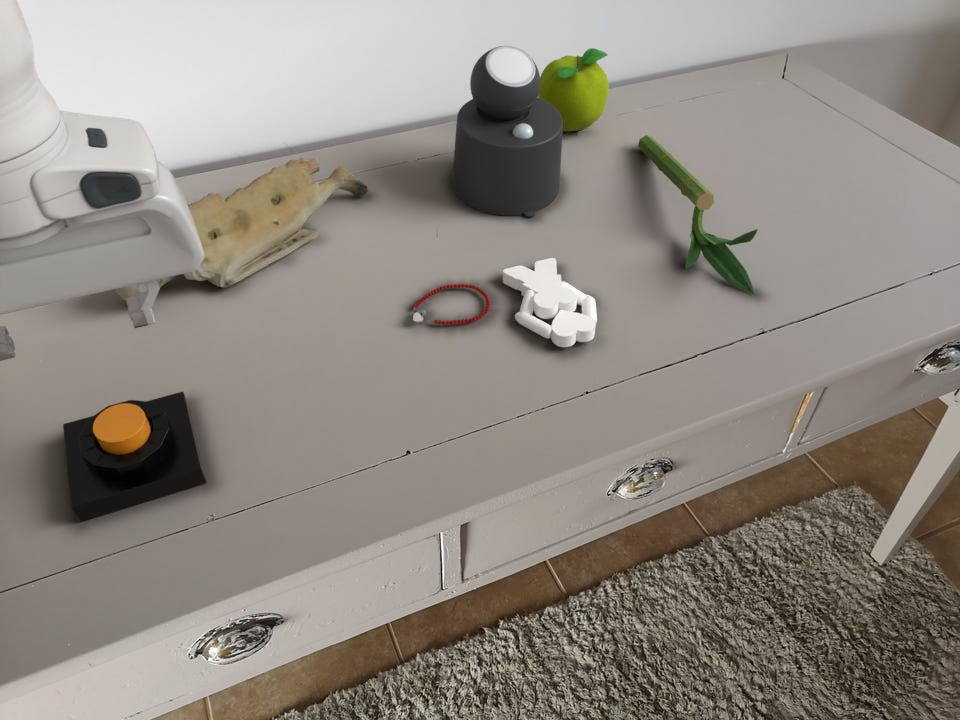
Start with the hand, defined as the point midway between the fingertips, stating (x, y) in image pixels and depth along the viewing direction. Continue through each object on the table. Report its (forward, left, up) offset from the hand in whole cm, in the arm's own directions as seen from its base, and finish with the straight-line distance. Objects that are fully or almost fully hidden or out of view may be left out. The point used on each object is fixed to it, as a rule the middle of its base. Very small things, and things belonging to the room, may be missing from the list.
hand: (76, 337), depth 56 cm
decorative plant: (+64, +13, -15) cm, 67 cm away
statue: (+16, +25, -15) cm, 33 cm away
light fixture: (+47, +26, -15) cm, 56 cm away
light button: (0, 0, -11) cm, 11 cm away
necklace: (+32, +8, -15) cm, 36 cm away
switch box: (0, 0, -15) cm, 15 cm away
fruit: (+61, +36, -15) cm, 72 cm away
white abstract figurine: (+42, +4, -15) cm, 45 cm away
